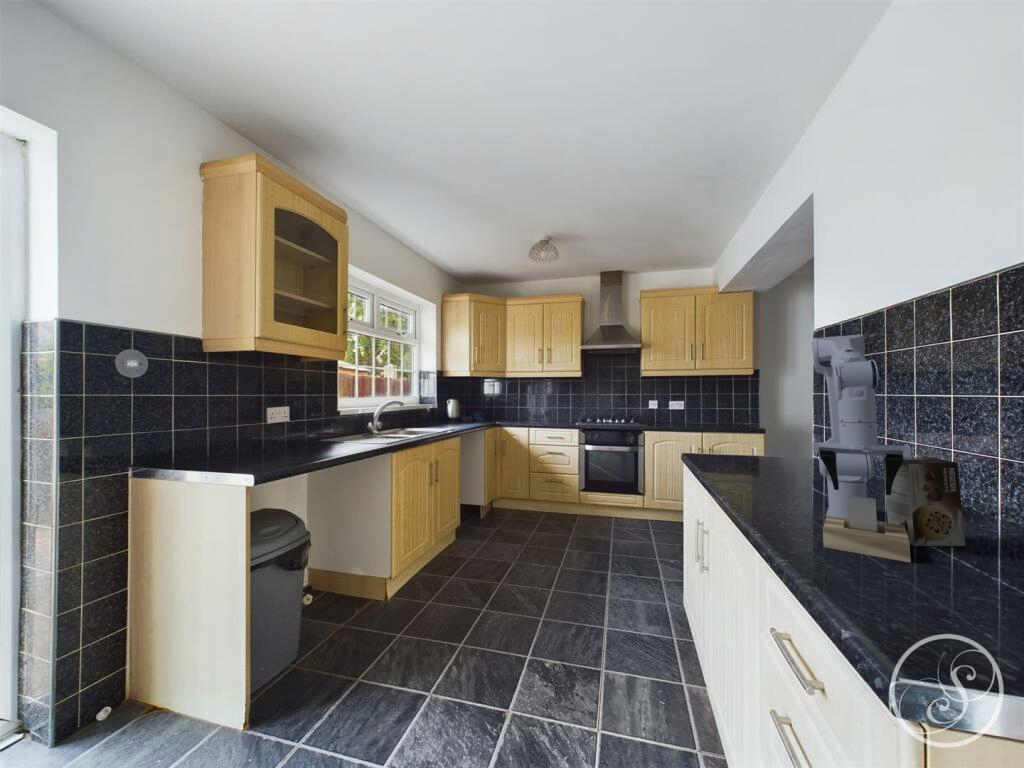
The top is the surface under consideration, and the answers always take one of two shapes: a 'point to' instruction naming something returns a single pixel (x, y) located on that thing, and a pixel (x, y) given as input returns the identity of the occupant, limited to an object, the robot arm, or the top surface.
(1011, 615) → the top surface
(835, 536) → the block
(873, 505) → the grey brushed square bar
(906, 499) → the coffee box
